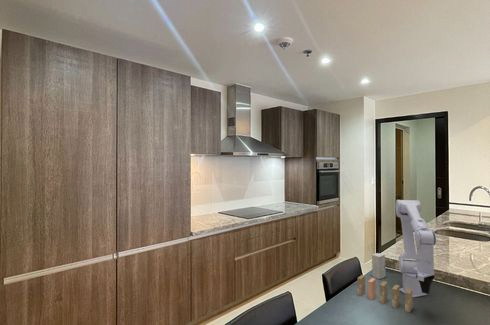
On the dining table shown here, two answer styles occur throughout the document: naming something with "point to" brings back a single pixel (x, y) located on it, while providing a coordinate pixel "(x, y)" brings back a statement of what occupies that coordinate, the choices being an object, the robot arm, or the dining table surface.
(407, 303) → the domino
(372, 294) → the domino
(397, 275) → the dining table surface
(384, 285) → the domino
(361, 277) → the domino
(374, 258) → the skincare box
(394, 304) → the domino
